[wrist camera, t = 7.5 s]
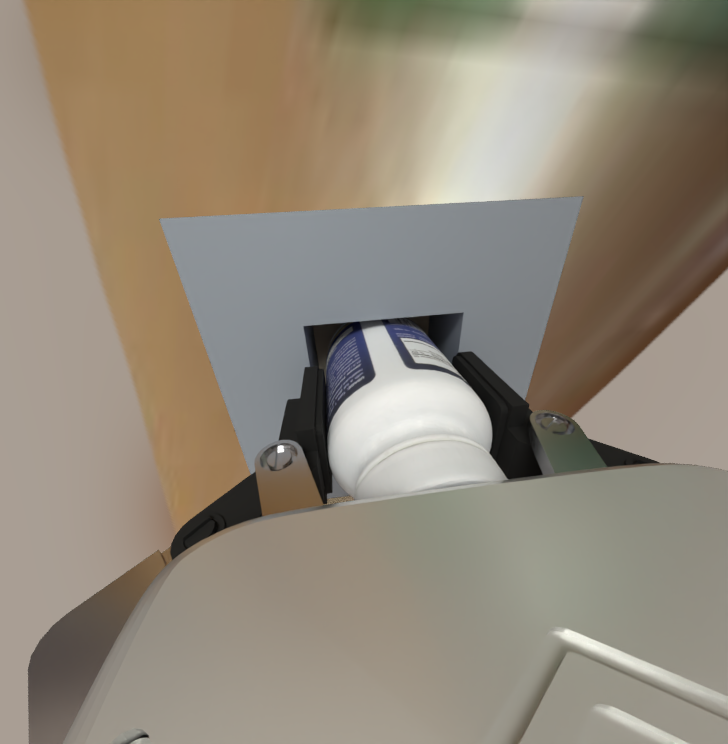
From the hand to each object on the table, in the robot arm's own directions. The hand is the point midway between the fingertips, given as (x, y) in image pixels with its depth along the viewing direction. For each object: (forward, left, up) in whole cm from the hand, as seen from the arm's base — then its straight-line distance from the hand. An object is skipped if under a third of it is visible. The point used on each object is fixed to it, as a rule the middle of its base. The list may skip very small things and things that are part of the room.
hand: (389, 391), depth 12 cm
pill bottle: (0, 0, -4) cm, 4 cm away
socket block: (0, 0, -6) cm, 6 cm away
